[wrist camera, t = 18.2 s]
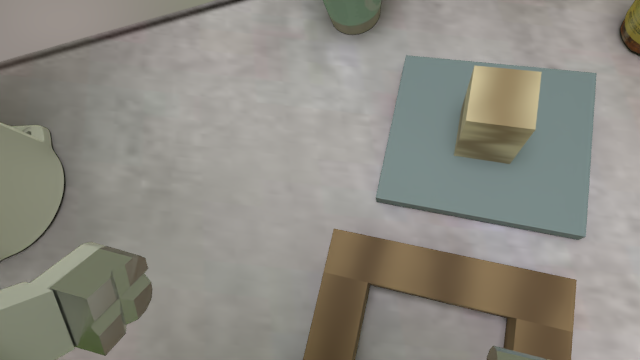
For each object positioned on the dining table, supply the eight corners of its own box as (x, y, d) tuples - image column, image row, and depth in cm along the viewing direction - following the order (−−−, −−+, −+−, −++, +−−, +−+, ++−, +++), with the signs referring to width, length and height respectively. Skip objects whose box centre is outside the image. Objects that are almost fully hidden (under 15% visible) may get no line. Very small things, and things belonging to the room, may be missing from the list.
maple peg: (453, 155, 38) (465, 120, 31) (461, 109, 39) (474, 65, 32) (509, 164, 37) (535, 129, 30) (515, 115, 38) (541, 71, 31)
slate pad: (376, 201, 40) (375, 197, 38) (405, 63, 44) (406, 55, 42) (578, 239, 35) (585, 236, 34) (589, 81, 39) (596, 73, 38)
